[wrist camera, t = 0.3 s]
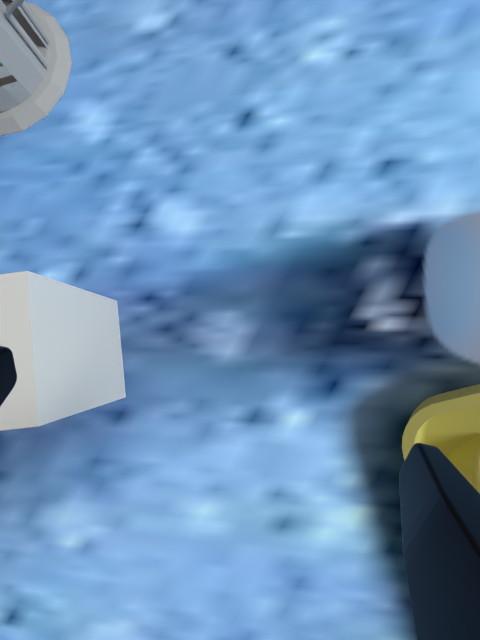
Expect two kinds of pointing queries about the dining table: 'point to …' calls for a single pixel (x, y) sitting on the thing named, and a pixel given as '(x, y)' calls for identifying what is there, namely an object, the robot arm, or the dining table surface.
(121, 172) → the dining table surface
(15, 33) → the french press
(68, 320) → the block
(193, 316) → the dining table surface
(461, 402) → the plastic component
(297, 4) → the dining table surface
